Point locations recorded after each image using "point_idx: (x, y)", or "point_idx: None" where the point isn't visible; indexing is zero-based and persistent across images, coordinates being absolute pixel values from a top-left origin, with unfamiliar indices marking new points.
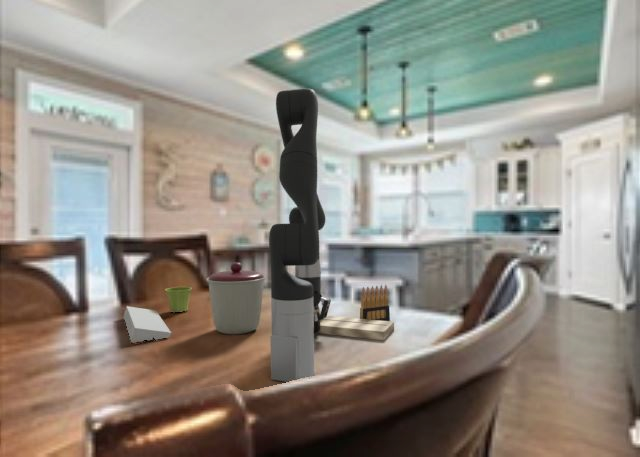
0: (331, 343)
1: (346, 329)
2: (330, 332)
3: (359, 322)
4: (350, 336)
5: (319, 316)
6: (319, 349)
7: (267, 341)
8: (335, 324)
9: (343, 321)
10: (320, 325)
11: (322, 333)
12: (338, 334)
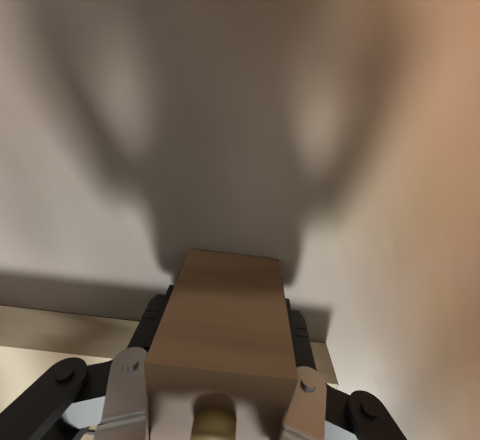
0: (31, 180)
1: (6, 338)
2: (118, 327)
3: None
4: (12, 307)
5: (91, 392)
6: (20, 18)
7: (470, 115)
8: None
9: (88, 429)
10: None
11: None
12: (76, 317)
